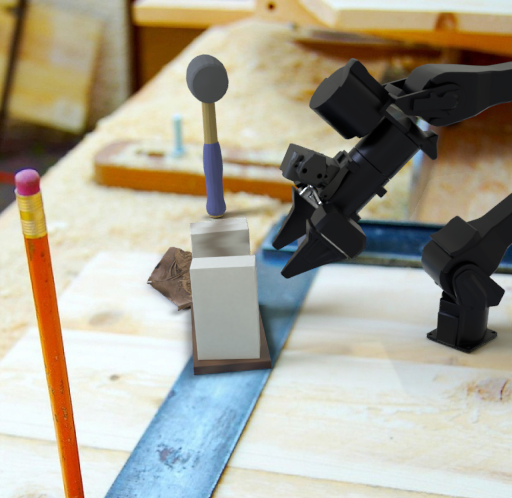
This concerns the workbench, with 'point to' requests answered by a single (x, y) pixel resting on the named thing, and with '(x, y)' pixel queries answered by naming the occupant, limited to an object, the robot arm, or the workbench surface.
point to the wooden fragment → (174, 277)
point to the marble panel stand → (221, 245)
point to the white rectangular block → (226, 307)
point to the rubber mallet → (210, 124)
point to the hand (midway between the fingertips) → (278, 261)
